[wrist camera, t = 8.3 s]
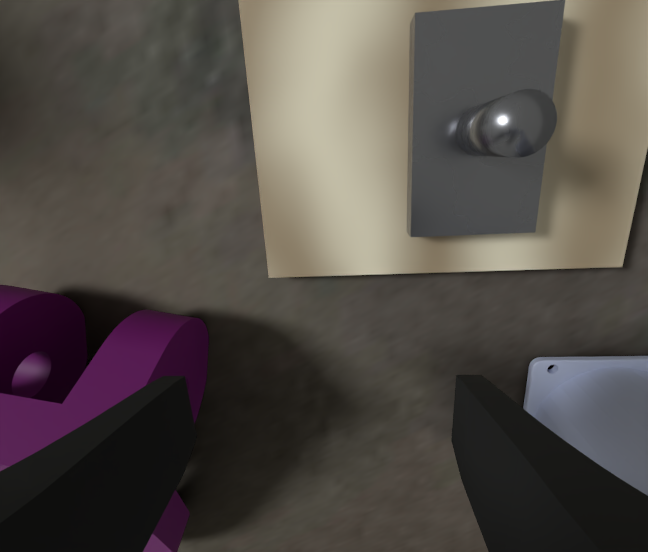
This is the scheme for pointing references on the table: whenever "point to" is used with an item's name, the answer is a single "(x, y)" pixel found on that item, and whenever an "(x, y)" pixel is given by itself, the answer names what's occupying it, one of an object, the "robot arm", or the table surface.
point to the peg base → (480, 117)
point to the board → (392, 139)
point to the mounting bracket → (88, 376)
